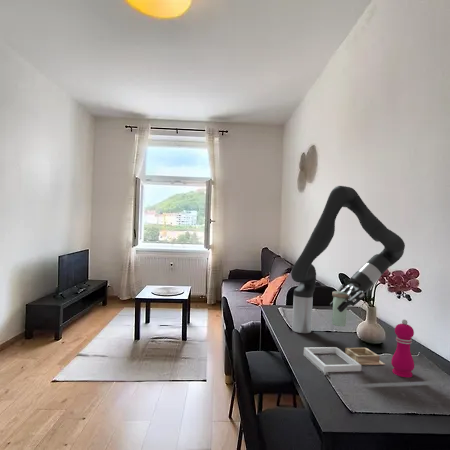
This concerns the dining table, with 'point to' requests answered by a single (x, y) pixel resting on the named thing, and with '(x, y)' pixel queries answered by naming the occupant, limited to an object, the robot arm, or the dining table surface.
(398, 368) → the pepper mill
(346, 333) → the dining table surface
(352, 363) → the tray
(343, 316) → the green lidded jar
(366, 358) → the holder
